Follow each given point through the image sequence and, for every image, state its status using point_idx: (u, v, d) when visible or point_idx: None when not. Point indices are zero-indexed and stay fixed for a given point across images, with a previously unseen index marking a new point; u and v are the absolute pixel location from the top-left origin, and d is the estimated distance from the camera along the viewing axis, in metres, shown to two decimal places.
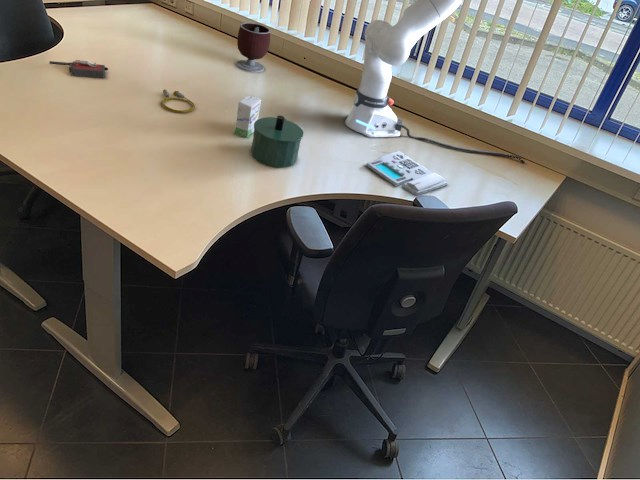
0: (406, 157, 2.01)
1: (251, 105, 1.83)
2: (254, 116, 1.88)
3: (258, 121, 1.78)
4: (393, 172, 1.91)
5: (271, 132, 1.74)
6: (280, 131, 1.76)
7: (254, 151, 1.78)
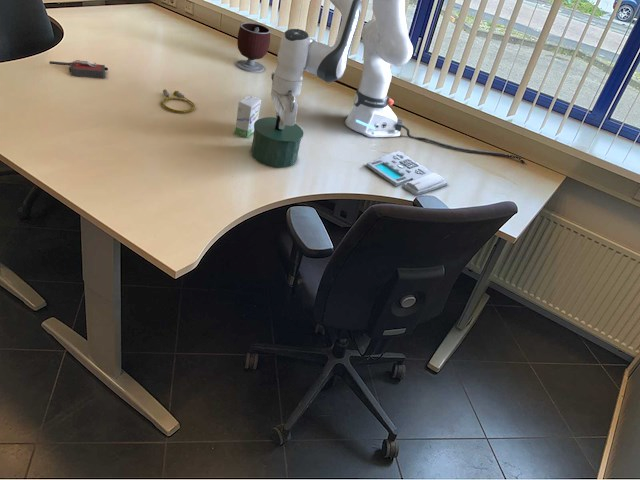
0: (406, 157, 2.01)
1: (251, 105, 1.83)
2: (254, 116, 1.88)
3: (258, 121, 1.78)
4: (393, 172, 1.91)
5: (271, 132, 1.74)
6: (280, 131, 1.76)
7: (254, 151, 1.78)
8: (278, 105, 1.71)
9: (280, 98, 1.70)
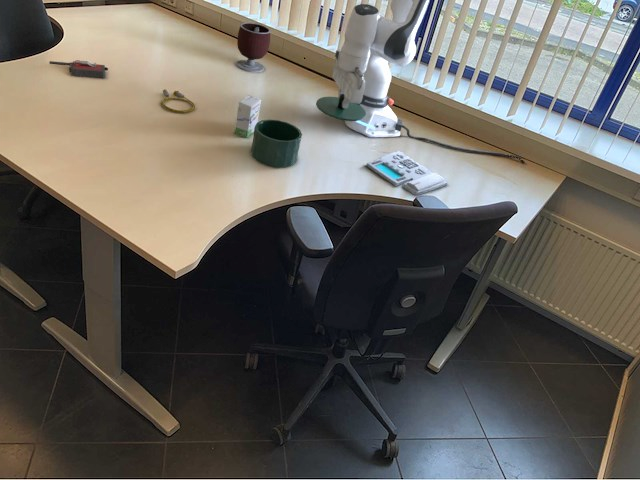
0: (406, 157, 2.01)
1: (251, 105, 1.83)
2: (254, 116, 1.88)
3: (320, 100, 1.75)
4: (393, 172, 1.91)
5: (334, 111, 1.71)
6: (343, 110, 1.73)
7: (254, 151, 1.78)
8: (342, 83, 1.69)
9: (345, 76, 1.67)
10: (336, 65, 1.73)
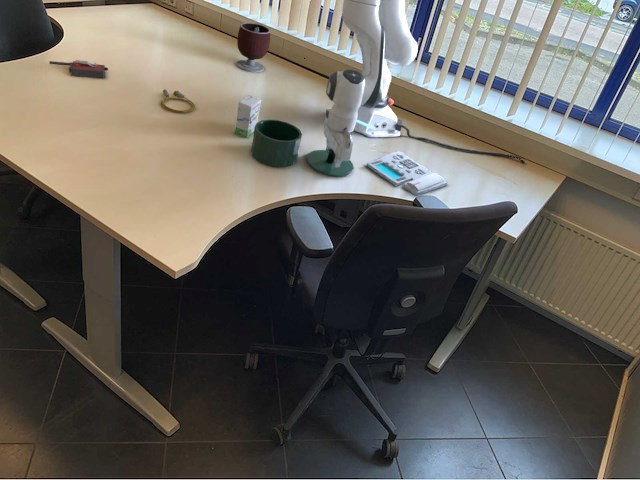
0: (406, 157, 2.01)
1: (251, 105, 1.83)
2: (254, 116, 1.88)
3: (310, 154, 1.87)
4: (393, 172, 1.91)
5: (323, 166, 1.82)
6: (332, 165, 1.84)
7: (254, 151, 1.78)
8: (332, 140, 1.80)
9: (335, 134, 1.79)
10: (326, 122, 1.85)
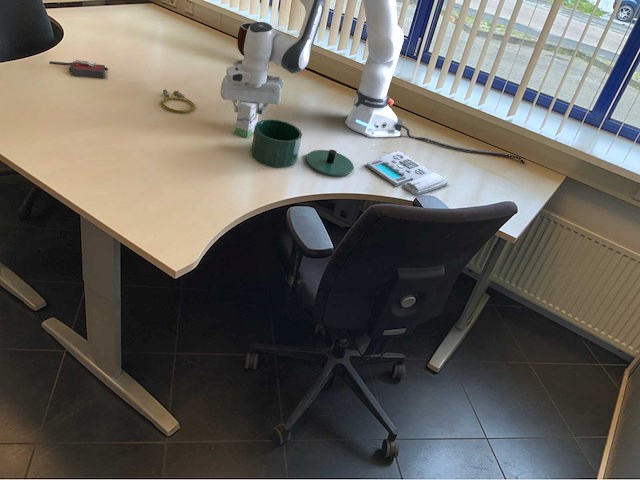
0: (406, 157, 2.01)
1: (251, 105, 1.83)
2: (254, 116, 1.88)
3: (310, 154, 1.87)
4: (393, 172, 1.91)
5: (323, 166, 1.82)
6: (332, 165, 1.84)
7: (254, 151, 1.78)
8: (253, 96, 1.83)
9: (255, 88, 1.82)
10: (229, 87, 1.79)
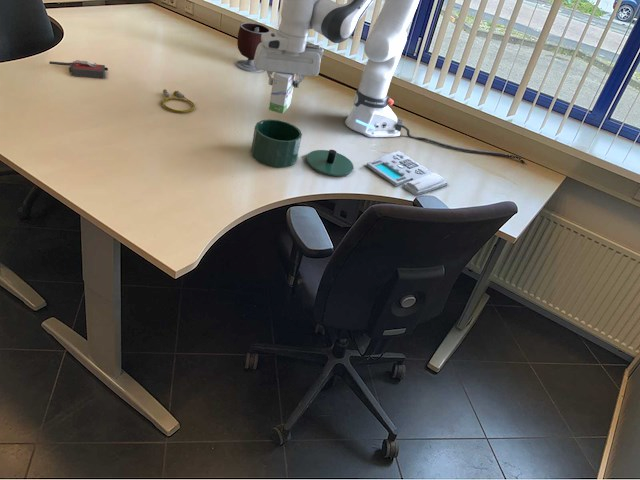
0: (406, 157, 2.01)
1: (288, 77, 1.65)
2: (290, 89, 1.70)
3: (310, 154, 1.87)
4: (393, 172, 1.91)
5: (323, 166, 1.82)
6: (332, 165, 1.84)
7: (254, 151, 1.78)
8: (290, 66, 1.65)
9: (292, 58, 1.64)
10: (264, 55, 1.61)
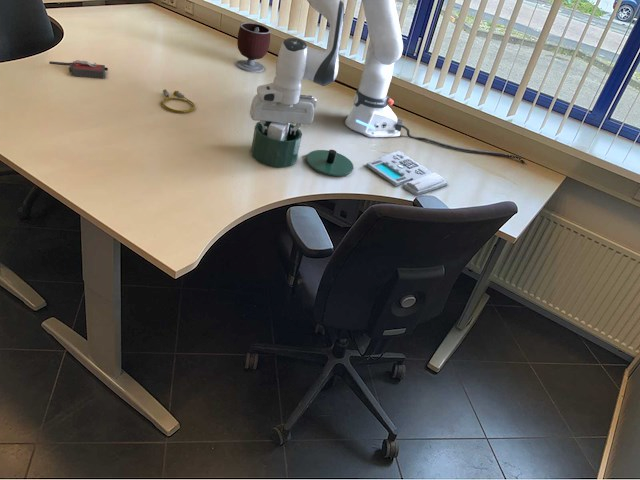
0: (406, 157, 2.01)
1: (282, 128, 1.74)
2: (284, 138, 1.78)
3: (310, 154, 1.87)
4: (393, 172, 1.91)
5: (323, 166, 1.82)
6: (332, 165, 1.84)
7: (254, 151, 1.78)
8: (285, 116, 1.73)
9: (286, 108, 1.72)
10: (260, 107, 1.69)
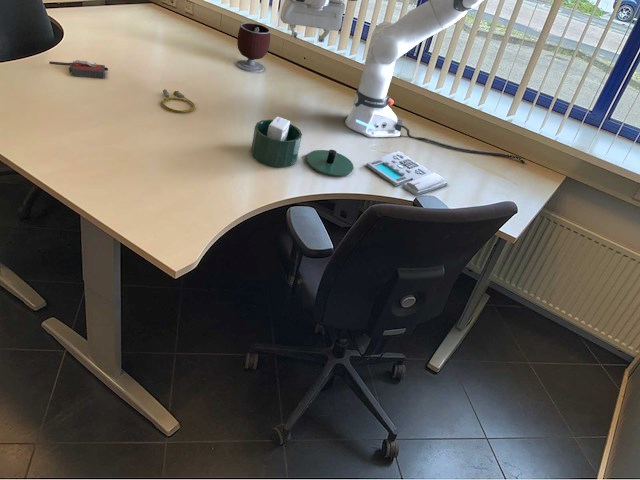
0: (406, 157, 2.01)
1: (282, 128, 1.74)
2: (284, 138, 1.78)
3: (310, 154, 1.87)
4: (393, 172, 1.91)
5: (323, 166, 1.82)
6: (332, 165, 1.84)
7: (254, 151, 1.78)
8: (314, 20, 1.77)
9: (316, 12, 1.76)
10: (291, 9, 1.72)
